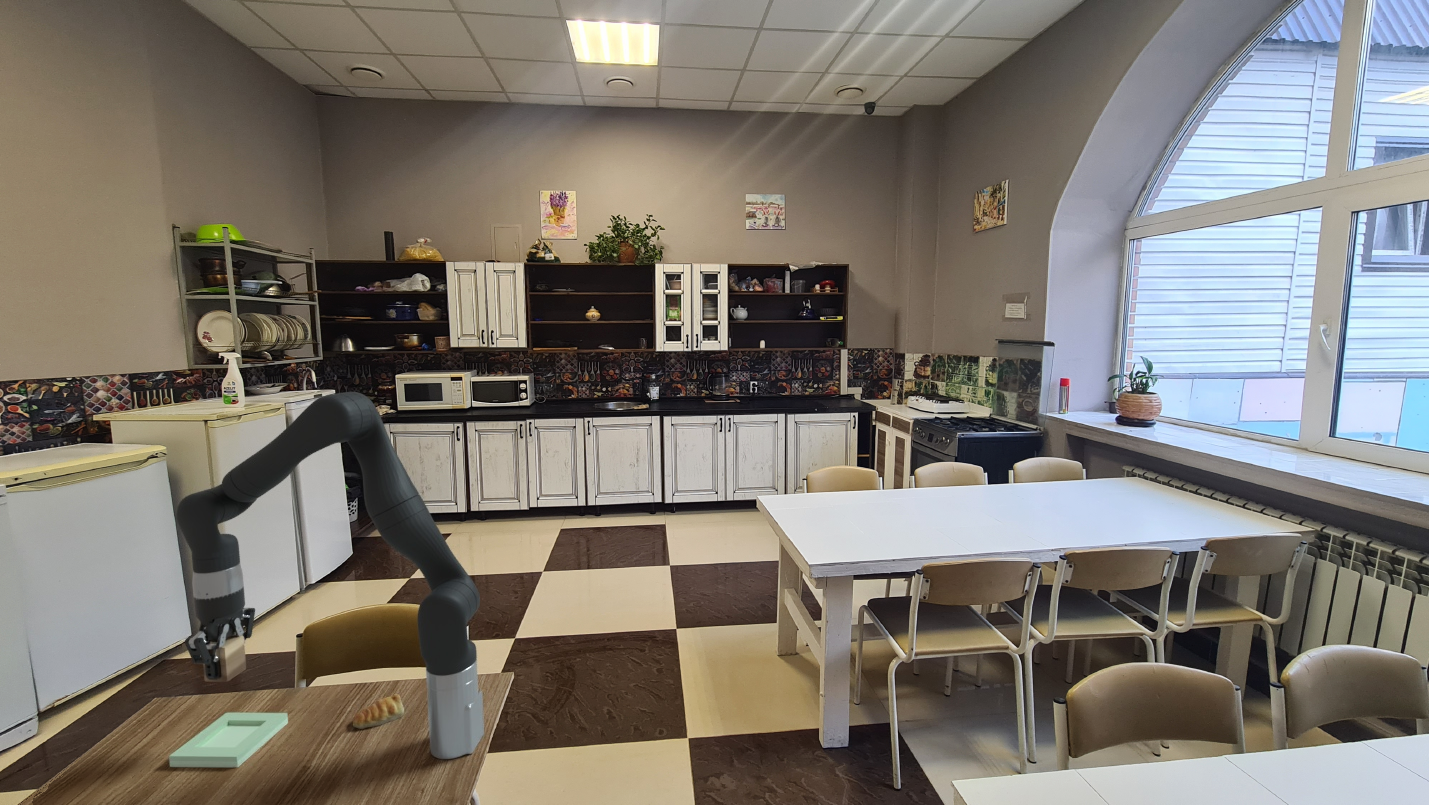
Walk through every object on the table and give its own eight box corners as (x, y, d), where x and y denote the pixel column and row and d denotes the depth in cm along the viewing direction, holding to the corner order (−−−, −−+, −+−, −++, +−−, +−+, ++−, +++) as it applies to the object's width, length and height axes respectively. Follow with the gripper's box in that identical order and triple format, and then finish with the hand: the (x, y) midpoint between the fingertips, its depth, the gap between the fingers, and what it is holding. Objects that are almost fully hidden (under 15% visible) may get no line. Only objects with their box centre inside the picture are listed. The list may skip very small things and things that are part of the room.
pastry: (357, 737, 119) (356, 719, 119) (349, 721, 124) (348, 705, 124) (406, 716, 126) (405, 700, 125) (397, 703, 131) (396, 687, 130)
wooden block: (246, 668, 118) (243, 636, 117) (227, 681, 113) (224, 647, 113) (224, 668, 118) (221, 635, 117) (204, 681, 113) (201, 647, 113)
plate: (288, 722, 123) (287, 713, 123) (237, 767, 110) (236, 756, 110) (227, 722, 124) (226, 712, 123) (170, 766, 111) (168, 756, 110)
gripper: (205, 605, 107) (213, 693, 108) (266, 574, 121) (272, 652, 123) (165, 605, 107) (173, 692, 108) (230, 574, 121) (237, 651, 123)
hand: (225, 670), depth 116 cm, fingers closed on wooden block, 4 cm apart
